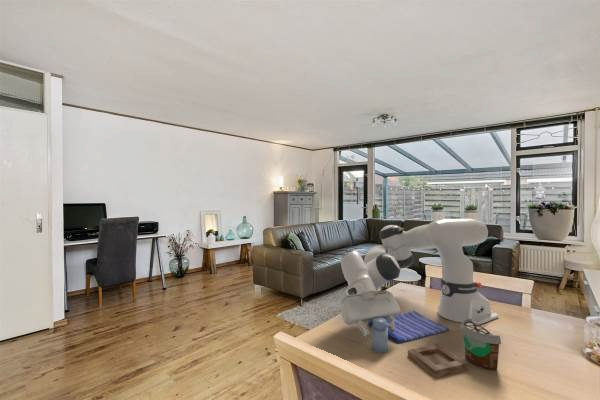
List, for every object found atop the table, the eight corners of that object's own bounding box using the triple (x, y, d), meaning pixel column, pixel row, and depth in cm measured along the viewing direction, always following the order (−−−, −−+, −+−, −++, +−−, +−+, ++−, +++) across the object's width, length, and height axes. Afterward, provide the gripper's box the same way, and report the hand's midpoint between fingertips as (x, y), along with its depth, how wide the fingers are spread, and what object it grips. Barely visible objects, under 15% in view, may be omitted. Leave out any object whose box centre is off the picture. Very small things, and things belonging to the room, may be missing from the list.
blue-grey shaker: (381, 343, 94) (381, 316, 94) (391, 351, 90) (391, 322, 90) (368, 346, 93) (368, 318, 93) (377, 354, 88) (377, 324, 88)
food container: (451, 350, 90) (451, 318, 89) (470, 349, 90) (470, 317, 90) (479, 374, 77) (479, 337, 77) (501, 373, 78) (501, 336, 78)
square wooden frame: (437, 349, 90) (437, 344, 90) (467, 369, 80) (467, 363, 80) (407, 356, 87) (407, 350, 87) (435, 377, 76) (435, 370, 76)
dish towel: (365, 325, 109) (365, 317, 109) (413, 314, 119) (413, 307, 119) (397, 346, 94) (397, 337, 94) (449, 332, 103) (449, 324, 103)
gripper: (386, 294, 105) (403, 332, 96) (334, 300, 99) (348, 342, 90) (393, 285, 101) (412, 324, 92) (340, 291, 95) (355, 334, 86)
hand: (380, 333), depth 91 cm, fingers open, 8 cm apart
